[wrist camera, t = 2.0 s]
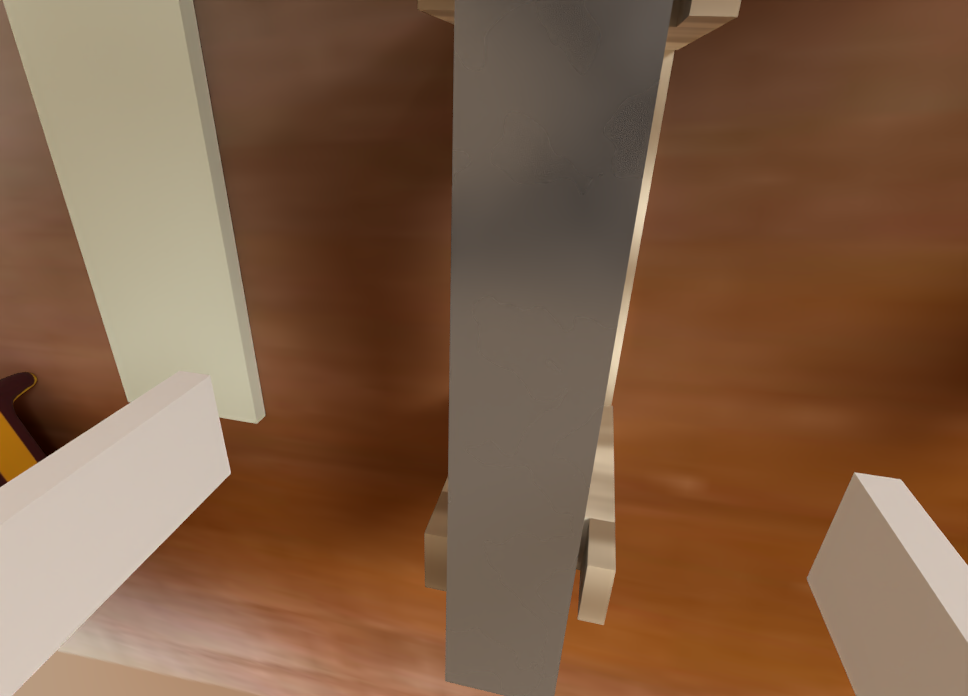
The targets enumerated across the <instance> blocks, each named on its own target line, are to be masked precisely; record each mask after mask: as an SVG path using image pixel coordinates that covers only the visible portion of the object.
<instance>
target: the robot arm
mask: <svg viewBox="0 0 968 696" xmlns="http://www.w3.org/2000/svg"><path fill="white" fill-rule="evenodd" d="M230 474H231V471H230V466H229V461H228V457H227V452H226V447H225V443H224V438H223V433H222V429H221V424H220V419H219V415H218V410H217V405H216V401H215V396H214V391H213V387H212V382H211V377H210V375H205V374H198V373H192V372H185V371H178V372H177V373H175V374H174V375H172V376H171V377H169V378H168V379H166V380H164V381H163V382H161V383H160V384H158V385H157V386H155V387H154V388H152V389H151V390H149V391H148V392H146V393H145V394H143V395H141V396H140V397H138V398H137V399H135V400H134V401H132V402H131V403H129V404H128V405H126V406H125V407H123V408H121V409H120V410H118V411H117V412H115V413H114V414H112V415H111V416H109V417H108V418H106V419H105V420H103V421H101V422H100V423H98V424H97V425H95V426H94V427H92V428H91V429H89V430H88V431H86V432H85V433H83V434H81V435H80V436H78V437H77V438H75V439H74V440H72V441H71V442H69V443H68V444H66V445H65V446H63V447H61V448H60V449H58V450H57V451H55V452H54V453H52V454H51V455H49V456H48V457H46V458H45V459H43V460H41V461H40V462H38V463H37V464H35V465H34V466H32V467H31V468H29V469H28V470H26V471H25V472H23V473H21V474H20V475H18V476H17V477H15V478H14V479H12V480H11V481H9V482H8V483H6V484H5V485H3V486H2V487H0V696H12V695H13V694H14V693H15V692H16V691H17V690H18V689H19V688H20V687H21V686H22V685H23V684H24V683H25V682H26V681H27V680H28V679H29V678H30V677H31V676H32V675H33V674H34V673H35V672H36V671H37V670H38V669H39V668H40V667H41V666H42V665H43V664H44V663H45V662H46V661H47V660H48V659H49V658H50V657H51V655H53V654H54V653H55V652H56V651H57V650H58V649H59V648H60V647H61V646H62V645H63V644H64V643H65V641H66V640H67V639H68V638H69V637H70V636H71V635H72V634H73V633H74V632H75V631H76V630H77V629H78V628H79V627H80V626H81V625H82V624H83V623H84V622H85V621H86V620H87V619H88V618H89V617H90V616H91V615H92V614H93V613H94V612H95V611H96V610H97V609H98V608H99V607H100V606H101V605H102V604H103V603H104V602H105V601H106V600H107V599H108V598H109V597H110V596H111V595H112V594H113V593H114V592H115V591H116V590H117V589H118V588H119V587H120V586H121V585H122V584H123V583H124V582H125V581H126V580H127V578H128V577H129V576H130V575H131V574H132V573H133V572H134V571H135V570H136V569H137V568H138V567H139V566H140V565H141V564H142V563H143V562H144V561H145V560H146V559H147V558H148V557H149V556H150V555H151V554H152V553H153V552H154V551H155V550H156V549H157V548H158V547H159V546H160V545H161V544H162V543H163V542H164V541H165V540H166V539H167V538H168V537H169V536H170V535H171V534H172V533H173V532H174V531H175V530H176V529H177V528H178V527H179V526H180V525H181V524H182V523H183V522H184V521H185V520H186V519H187V518H188V517H189V515H190V514H191V513H192V512H193V511H194V510H195V509H196V508H197V507H198V506H199V505H200V504H201V503H202V502H203V501H204V500H205V499H206V498H207V497H208V496H209V495H210V494H211V493H212V492H213V491H214V490H215V489H216V488H217V487H218V486H219V485H220V484H221V483H222V482H223V481H224V480H225V479H226V478H227V477H228V476H229V475H230ZM807 581H808V583H809V585H810V588H811V590H812V592H813V595H814V597H815V599H816V602H817V604H818V607H819V609H820V611H821V614H822V616H823V618H824V621H825V623H826V626H827V628H828V630H829V633H830V635H831V637H832V640H833V642H834V645H835V647H836V649H837V652H838V654H839V656H840V659H841V661H842V663H843V666H844V668H845V671H846V673H847V675H848V678H849V680H850V682H851V685H852V687H853V690H854V692H855V694H856V696H968V565H967V564H966V563H965V562H964V560H963V559H962V558H961V556H960V555H959V554H958V553H957V551H956V550H955V549H954V547H953V546H952V545H951V544H950V542H949V541H948V540H947V538H946V537H945V536H944V535H943V533H942V532H941V531H940V529H939V528H938V527H937V526H936V524H935V523H934V522H933V520H932V519H931V518H930V516H929V515H928V514H927V513H926V511H925V510H924V509H923V507H922V506H921V505H920V504H919V502H918V501H917V500H916V498H915V497H914V496H913V495H912V493H911V492H910V491H909V489H908V488H907V487H906V486H905V484H904V483H903V482H902V480H901V479H895V478H888V477H881V476H875V475H868V474H861V473H855V472H854V474H853V476H852V479H851V481H850V483H849V485H848V488H847V490H846V492H845V494H844V497H843V499H842V501H841V503H840V505H839V508H838V510H837V512H836V514H835V517H834V519H833V521H832V523H831V526H830V528H829V530H828V532H827V535H826V537H825V539H824V541H823V543H822V546H821V548H820V550H819V552H818V555H817V557H816V559H815V561H814V564H813V566H812V568H811V570H810V572H809V575H808V577H807Z"/></svg>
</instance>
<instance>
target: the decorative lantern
mask: <svg viewBox="0 0 968 696" xmlns="http://www.w3.org/2000/svg"><path fill="white" fill-rule="evenodd" d="M36 381H37V378H36V376H35V375H34V374H32V373H28V372H22V373H17V374H14V375H11V376H8V377H6V378H3V379H1V380H0V487H2V486H3V485H5V484H6V483H8V482H9V481H11V480H12V479H14V478H15V477H17V476H18V475H20V474H21V473H23V472H25V471H26V470H28V469H29V468H31V467H32V466H34V465H35V464H37V463H38V462H40V461H41V460H43V459H45V458H46V457H47V456H46V455H45V453H44V452H43V451H42V449H41V448H40V447H39V445H38V444H37V442H36V441H35V440H34V438H33V437H32V436H31V434H30V433H29V431H28V430H27V429H26V427H25V426H24V425H23V423H22V422H21V420H20V419H19V418H18V416H17V415H16V412H15V409H14V406H13V403H14V401H15V400H16V399H17V398H18V397H19V396H20V395H21V394H23V393H24V392H26V391H27V390H28V389H30V388H31V387H33V386H34V385H35V383H36Z"/></svg>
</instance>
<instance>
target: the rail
mask: <svg viewBox="0 0 968 696" xmlns="http://www.w3.org/2000/svg"><path fill="white" fill-rule="evenodd" d="M672 5H673V0H455V9H454V82H453V156H452V229H451V302H450V376H449V449H448V523H447V596H446V670H445V681H447V682H451V683H455V684H459V685H463V686H467V687H472V688H476V689H480V690H484V691H488V692H492V693H496V694H500V695H504V696H554V694H555V688H556V682H557V676H558V671H559V665H560V659H561V653H562V647H563V641H564V636H565V630H566V624H567V618H568V612H569V606H570V601H571V595H572V589H573V583H574V577H575V571H576V565H577V560H578V554H579V548H580V542H581V536H582V530H583V525H584V519H585V513H586V507H587V501H588V495H589V490H590V484H591V478H592V472H593V466H594V460H595V455H596V449H597V443H598V437H599V431H600V425H601V419H602V414H603V408H604V402H605V396H606V390H607V384H608V379H609V373H610V367H611V361H612V355H613V349H614V344H615V338H616V332H617V326H618V320H619V314H620V309H621V303H622V297H623V291H624V285H625V279H626V273H627V268H628V262H629V256H630V250H631V244H632V238H633V233H634V227H635V221H636V215H637V209H638V203H639V198H640V192H641V186H642V180H643V174H644V168H645V163H646V157H647V151H648V145H649V139H650V133H651V127H652V122H653V116H654V110H655V104H656V98H657V92H658V87H659V81H660V75H661V69H662V63H663V57H664V52H665V46H666V40H667V34H668V28H669V22H670V17H671V11H672Z"/></svg>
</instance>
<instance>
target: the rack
mask: <svg viewBox="0 0 968 696" xmlns="http://www.w3.org/2000/svg"><path fill="white" fill-rule="evenodd" d="M740 4H741V0H673V5H672V11H671V17H670V22H669V28H668V34H667V40H666V46H665V52H664V57H663V63H662V69H661V75H660V81H659V87H658V92H657V98H656V104H655V110H654V116H653V122H652V127H651V133H650V139H649V145H648V151H647V157H646V163H645V168H644V174H643V180H642V186H641V192H640V198H639V203H638V209H637V215H636V221H635V227H634V233H633V238H632V244H631V250H630V256H629V262H628V268H627V273H626V279H625V285H624V291H623V297H622V303H621V309H620V314H619V320H618V326H617V332H616V338H615V344H614V349H613V355H612V361H611V367H610V373H609V379H608V384H607V390H606V396H605V402H604V408H603V414H602V419H601V425H600V431H599V437H598V443H597V449H596V455H595V460H594V466H593V472H592V478H591V484H590V490H589V495H588V501H587V507H586V513H585V519H584V525H583V530H582V536H581V542H580V548H579V554H578V560H577V565H576V569H578V570H580V587H579V605H578V620H582V621H587V622H592V623H596V624H601V625H604V621H605V617H606V612H607V608H608V603H609V599H610V594H611V590H612V585H613V581H614V576H615V572H616V560H615V499H614V438H613V406H611V404H612V398H613V393H614V387H615V381H616V376H617V370H618V365H619V359H620V353H621V348H622V342H623V337H624V331H625V325H626V320H627V314H628V309H629V303H630V297H631V292H632V286H633V281H634V275H635V269H636V264H637V258H638V253H639V247H640V241H641V236H642V230H643V225H644V219H645V213H646V208H647V202H648V197H649V191H650V185H651V180H652V174H653V169H654V163H655V157H656V152H657V146H658V141H659V135H660V129H661V124H662V118H663V113H664V107H665V101H666V96H667V90H668V85H669V79H670V73H671V68H672V62H673V57H674V51H675V50H679V49H680V48H682V47H684V46H686V45H688V44H689V43H691V42H693V41H695V40H697V39H698V38H700V37H702V36H704V35H706V34H708V33H709V32H711V31H713V30H715V29H717V28H718V27H720V26H722V25H724V24H726V23H727V22H729V21H731V20H733V19H735V18H737V17H738V13H739V9H740ZM417 6H418V10H420V11H422V12H425V13H427V14H430V15H432V16H434V17H437V18H439V19H442V20H444V21H447V22H449V23H451V24H454V9H455V0H417ZM447 523H448V477H447V480H446V482H445V485H444V487H443V489H442V492H441V494H440V497H439V499H438V502H437V504H436V506H435V509H434V511H433V514H432V516H431V519H430V521H429V523H428V526H427V528H426V531H425V533H424V537H425V587H428V588H433V589H437V590H442V591H447Z"/></svg>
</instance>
